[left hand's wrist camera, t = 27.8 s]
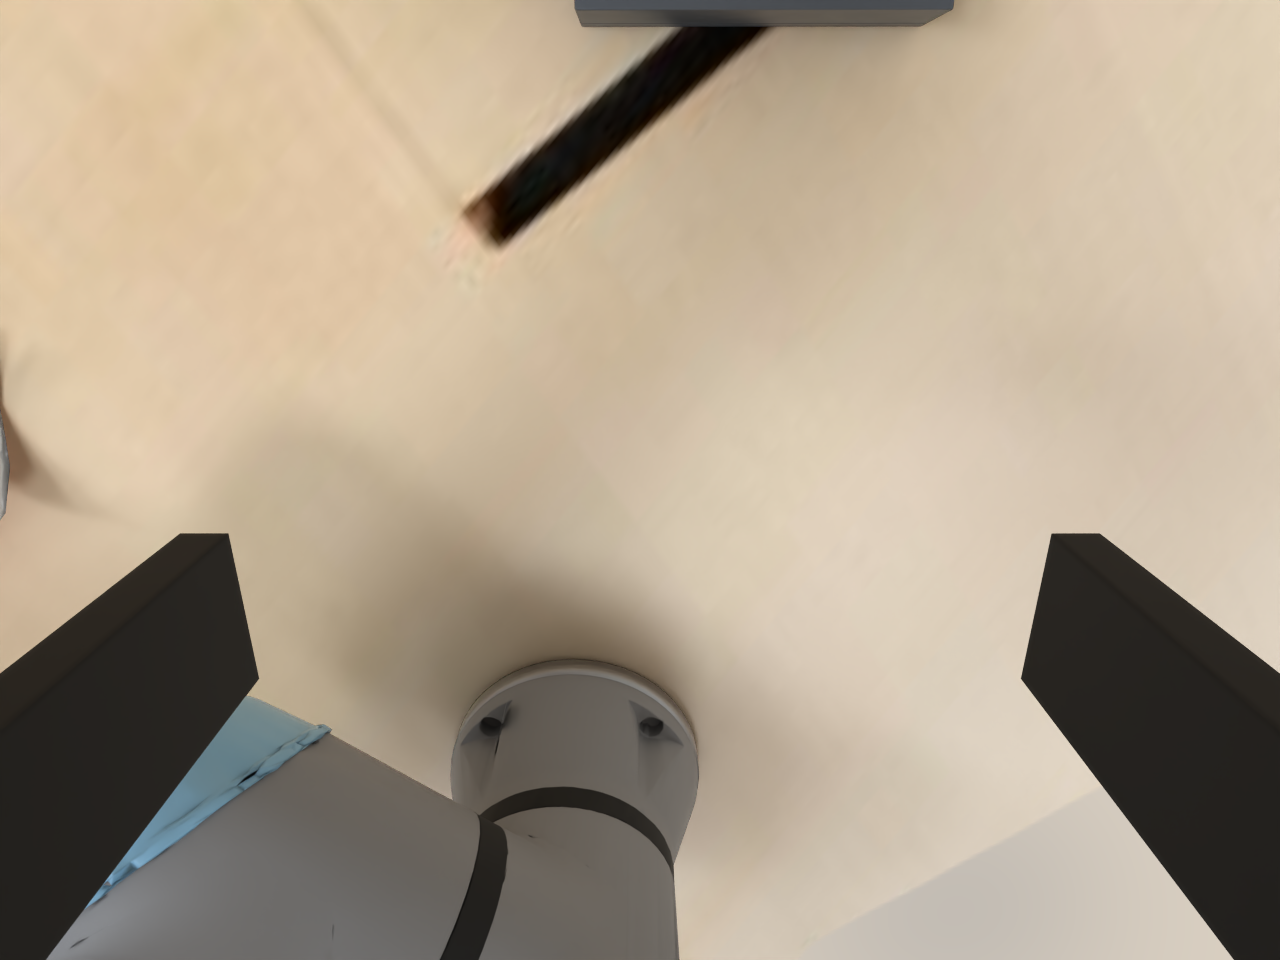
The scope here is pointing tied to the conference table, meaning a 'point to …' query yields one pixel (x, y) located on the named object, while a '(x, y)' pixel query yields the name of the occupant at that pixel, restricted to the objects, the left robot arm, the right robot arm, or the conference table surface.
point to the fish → (3, 470)
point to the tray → (758, 12)
